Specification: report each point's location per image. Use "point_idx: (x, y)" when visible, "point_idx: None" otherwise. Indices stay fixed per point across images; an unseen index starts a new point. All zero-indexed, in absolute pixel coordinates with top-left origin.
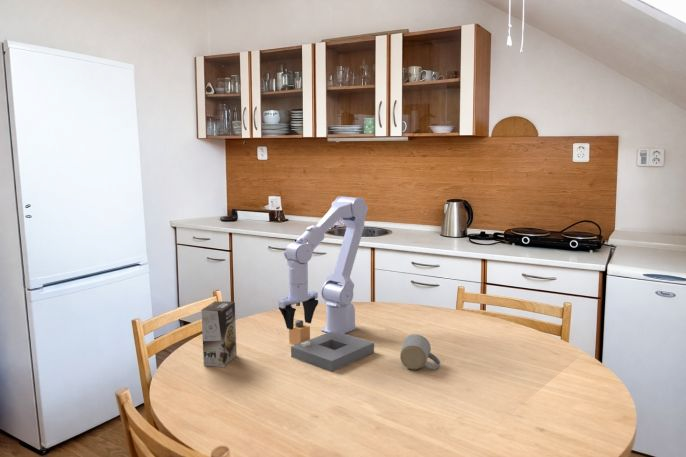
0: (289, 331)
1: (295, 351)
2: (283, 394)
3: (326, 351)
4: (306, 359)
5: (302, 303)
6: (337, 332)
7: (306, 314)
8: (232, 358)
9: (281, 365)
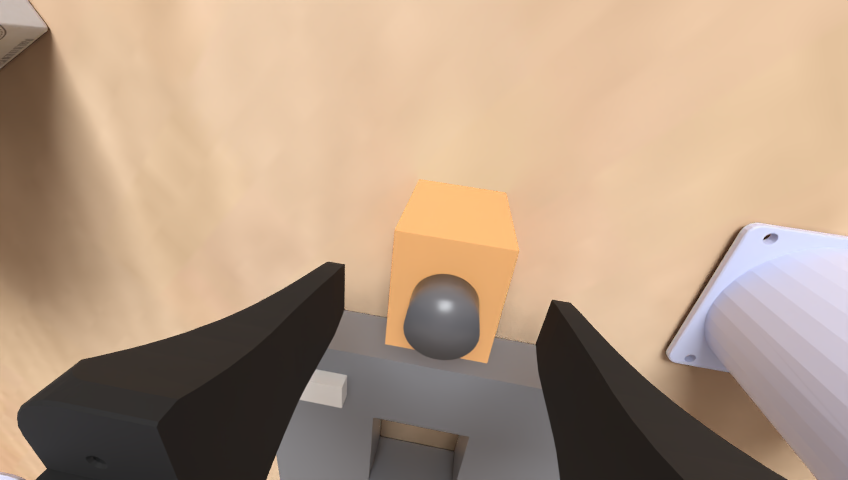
0: (404, 214)
1: None
2: None
3: (334, 464)
4: None
5: (658, 452)
6: None
7: (570, 373)
8: (4, 62)
9: (199, 315)
